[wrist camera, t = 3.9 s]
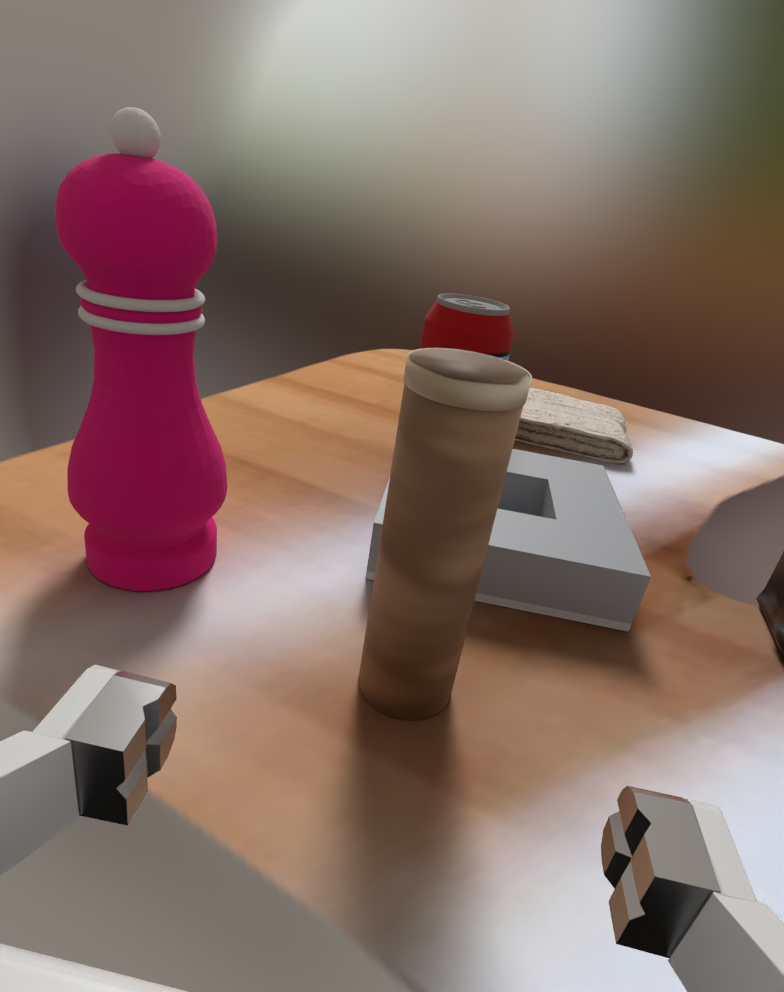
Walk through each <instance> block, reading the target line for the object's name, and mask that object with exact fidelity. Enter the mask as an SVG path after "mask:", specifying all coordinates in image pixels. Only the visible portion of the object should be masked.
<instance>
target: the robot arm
mask: <svg viewBox="0 0 784 992" xmlns="http://www.w3.org/2000/svg"><path fill="white" fill-rule="evenodd" d="M175 701H176V685H174V684H172V683H168V682H164V681H160V680H156V679H152V678H148V677H144V676H140V675H137V674H133V673H129V672H125V671H119V670H115V669H111V668H107V667H103V666H99V665H93V666H91V667H90V668H88V669H86V670H85V671H84V672H83V674H82V675H81V676H80V677H79V678H78V679H77V680H76V682H75V683H74V684H73V685H72V686H71V687H70V689H69V690H68V691H67V692H66V693H65V694H64V696H63V697H62V698H61V699H60V700H59V701H58V702H57V704H56V705H55V706H54V707H53V708H52V709H51V711H50V712H49V713H48V714H47V715H46V716H45V717H44V719H43V720H42V721H41V722H40V723H39V724H38V726H37V727H36V728H35V729H34V730H33V731H32V732H29V731H25V730H23V731H21V732H19V733H17V734H15V735H13V736H11V737H9V738H7V739H4V740H2V741H0V876H1V875H2V874H4V873H5V872H6V871H8V870H9V869H11V868H12V867H13V866H15V865H16V864H17V863H19V862H20V861H22V860H23V859H24V858H26V857H27V856H29V855H30V854H31V853H33V852H34V851H36V850H37V849H38V848H40V847H41V846H42V845H44V844H45V843H46V842H48V841H49V840H51V839H52V838H54V837H55V836H56V835H58V834H59V833H61V832H62V831H63V830H64V829H66V828H67V827H69V826H70V825H72V824H73V823H74V822H76V821H77V820H79V818H80V817H79V816H84V817H89V818H94V819H98V820H103V821H108V822H112V823H117V824H122V825H127V826H128V825H129V823H130V821H131V820H132V818H133V816H134V814H135V813H136V811H137V809H138V808H139V806H140V804H141V803H142V801H143V799H144V797H145V796H146V794H147V792H148V781H147V778H148V777H150V776H151V775H153V774H155V773H156V772H158V771H160V770H161V768H162V766H163V764H164V763H165V761H166V759H167V757H168V755H169V752H170V749H171V747H172V744H173V741H174V738H175V732H176V720H177V717H176V716H175V714H174V713H173V712H172V710H171V707H172V705H173V704H174V702H175ZM617 801H618V806H619V812H617V813H615V814H613V815H611V816H609V818H608V820H607V823H606V825H605V827H604V830H603V837H602V843H601V856H602V865H603V871H604V875H605V877H606V878H607V879H608V881H609V882H610V883H611V885H612V886H613V887H614V889H615V890H614V892H613V894H612V896H611V898H610V900H609V906H610V912H611V918H612V923H613V929H614V934H615V940H616V944H619V945H622V946H626V947H630V948H633V949H637V950H641V951H645V952H648V953H652V954H656V955H659V956H663V957H667V958H670V959H669V960H668V962H669V963H670V965H671V966H672V968H673V970H674V971H675V973H676V974H677V976H678V977H679V979H680V981H681V982H682V984H683V985H684V987H685V989H686V990H687V992H784V923H783V922H782V921H781V920H780V919H779V917H778V916H777V915H776V914H775V913H774V912H773V911H772V910H771V909H770V908H769V907H768V906H767V905H766V904H762V903H759V902H757V900H756V898H755V895H754V893H753V890H752V887H751V885H750V882H749V880H748V877H747V875H746V872H745V870H744V867H743V865H742V862H741V859H740V857H739V854H738V852H737V849H736V847H735V844H734V842H733V839H732V837H731V834H730V831H729V829H728V826H727V824H726V821H725V819H724V816H723V814H722V811H721V810H720V809H719V808H718V807H717V806H716V805H712V804H707V803H703V802H698V801H694V800H689V799H684V798H681V797H677V796H672V795H667V794H663V793H658V792H653V791H649V790H644V789H639V788H635V787H630V786H627V787H625V788H624V789H623V790H622V791H621V793H620V795H619V797H618V799H617ZM0 992H188V991H184V990H180V989H176V988H172V987H168V986H165V985H161V984H157V983H153V982H149V981H145V980H141V979H137V978H133V977H129V976H125V975H122V974H118V973H114V972H110V971H105V970H102V969H98V968H94V967H90V966H87V965H82V964H78V963H75V962H70V961H67V960H63V959H59V958H55V957H51V956H47V955H44V954H40V953H36V952H32V951H28V950H24V949H20V948H16V947H12V946H8V945H4V944H1V943H0Z"/></svg>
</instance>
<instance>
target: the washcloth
mask: <svg viewBox="0 0 784 992" xmlns="http://www.w3.org/2000/svg"><path fill="white" fill-rule="evenodd" d="M625 433H626V425H625V420H624V417H623V415H622V413H621V412H620V411H619V410H617V409H615V408H612V407H609V406H606V405H601V404H597V403H592V402H587V401H581V400H580V399H575V398H572V397H570V396H566V395H563V394H558V393H554V392H548V391H545V390H539V389H534V388H529V392H528V396H527V400H526V403H525V405H524V406H523V409H522V413H521V417H520V421H519V425H518V429H517V433H516V437H515V441H519V442H524V443H528V444H532V445H536V446H541V447H545V448H549V449H554V450H558V451H562V452H567V453H571V454H575V455H579V456H584V457H588V458H592V459H596V460H600V461H604V462H609V463H617V464H620V463H624V462H626V461H628V460H630V459H631V458H632V454H633V449H632V447H631V443H630V441H629V439H628V437H627V435H626V434H625Z"/></svg>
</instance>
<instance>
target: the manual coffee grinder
mask: <svg viewBox="0 0 784 992" xmlns="http://www.w3.org/2000/svg"><path fill="white" fill-rule="evenodd" d="M756 599H757V601H758V604H759V606H760V608H761V610H762V612H763V614H764V616H765V619H766V621H767V623H768V625H769V627H770V630H771V632H772V634H773V637H774V639H775V641H776V644H777V646H778V648H779V650H780V651H781V653H782V655H783V656H784V552H783V554H782V556H781V558H780V560H779V562H778V564H777V566H776V568H775V570H774V572H773V573H772V575H771V577H770V579H769V581H768V583H767V585H766V587H765V589H764V590H763V591H762V593H761V594H760V595H759V596H758V597H757V598H756Z"/></svg>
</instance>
